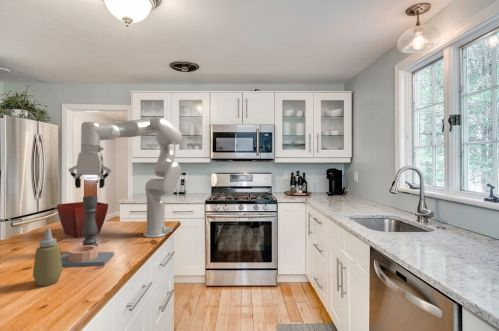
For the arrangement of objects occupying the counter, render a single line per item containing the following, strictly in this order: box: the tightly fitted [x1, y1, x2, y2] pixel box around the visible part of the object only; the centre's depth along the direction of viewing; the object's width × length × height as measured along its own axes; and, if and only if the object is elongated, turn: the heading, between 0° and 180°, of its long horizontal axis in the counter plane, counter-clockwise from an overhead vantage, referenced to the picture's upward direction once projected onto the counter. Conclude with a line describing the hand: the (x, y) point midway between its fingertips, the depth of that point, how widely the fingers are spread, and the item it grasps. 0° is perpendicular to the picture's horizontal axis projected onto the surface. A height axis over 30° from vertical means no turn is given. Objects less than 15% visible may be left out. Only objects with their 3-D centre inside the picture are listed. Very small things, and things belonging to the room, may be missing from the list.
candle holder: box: [81, 195, 99, 247], centre depth 124 cm, size 6×6×25 cm
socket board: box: [61, 245, 115, 268], centre depth 113 cm, size 20×12×5 cm, turn 100°
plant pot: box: [56, 201, 109, 239], centre depth 154 cm, size 19×19×17 cm
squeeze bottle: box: [32, 228, 63, 287], centre depth 92 cm, size 8×8×18 cm
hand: (89, 187), depth 124 cm, fingers open, 9 cm apart
